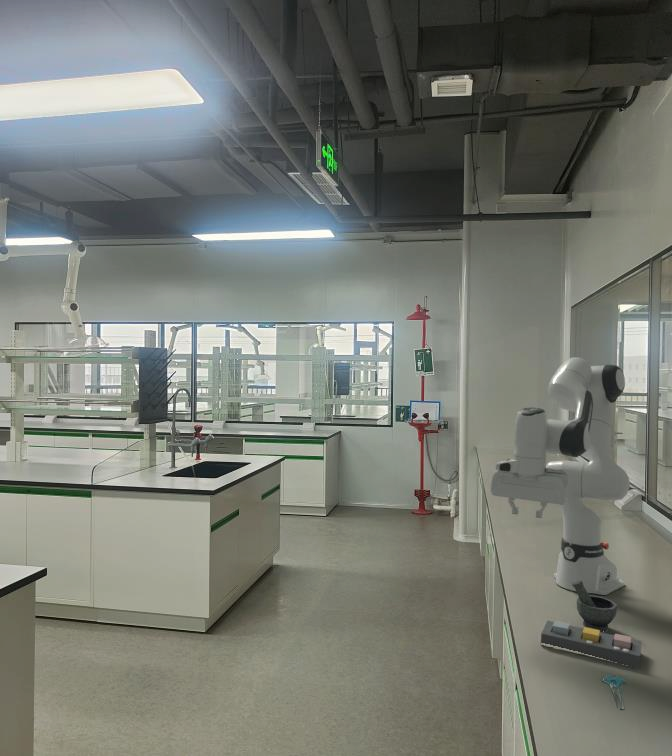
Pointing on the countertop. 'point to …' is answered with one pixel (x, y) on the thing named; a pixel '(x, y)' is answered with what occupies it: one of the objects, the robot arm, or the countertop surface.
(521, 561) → the countertop surface
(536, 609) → the countertop surface
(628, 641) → the button two
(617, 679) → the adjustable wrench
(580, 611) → the mortar and pestle
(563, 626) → the button none
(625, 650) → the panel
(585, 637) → the button one
